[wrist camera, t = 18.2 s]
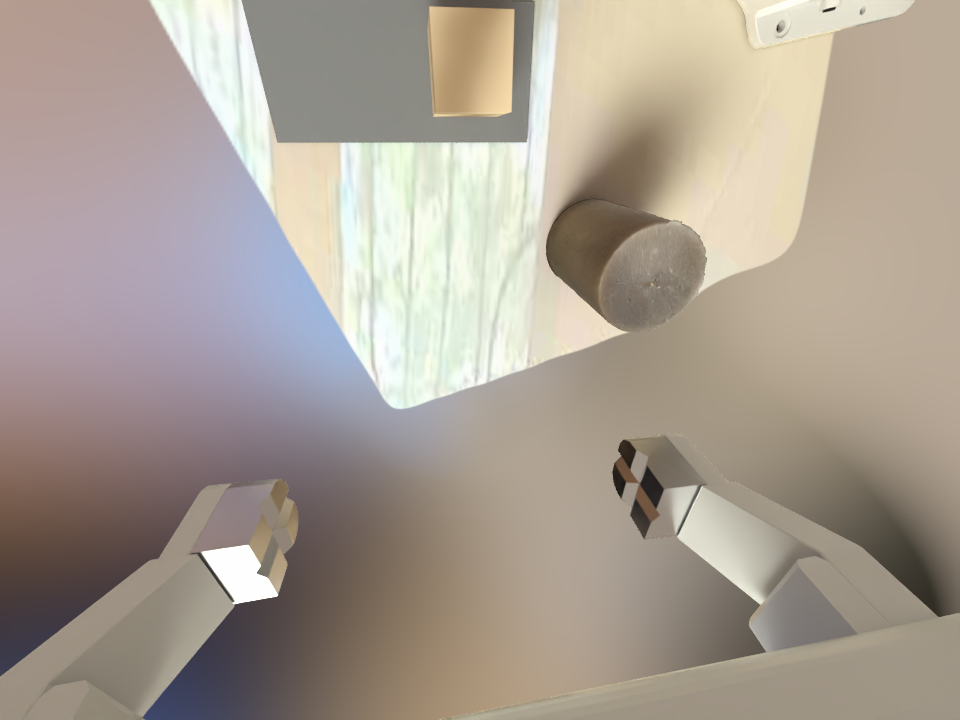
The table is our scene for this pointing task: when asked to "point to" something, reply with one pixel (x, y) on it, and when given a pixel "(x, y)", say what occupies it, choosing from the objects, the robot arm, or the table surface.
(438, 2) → the rubber mat
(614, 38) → the table surface
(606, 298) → the pillar candle
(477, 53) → the oak block
